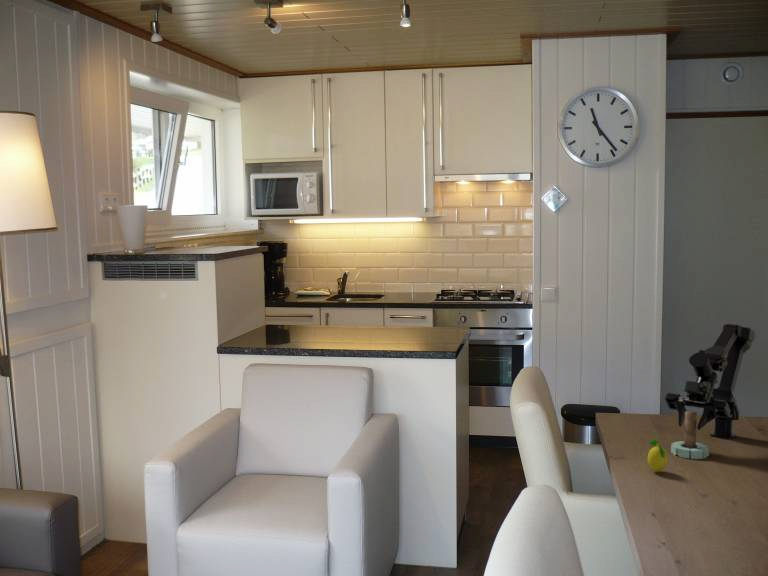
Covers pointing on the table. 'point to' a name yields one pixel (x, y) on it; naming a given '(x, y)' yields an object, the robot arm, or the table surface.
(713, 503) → the table surface
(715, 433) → the robot arm
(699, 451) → the ring
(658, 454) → the lemon
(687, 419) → the dowel
